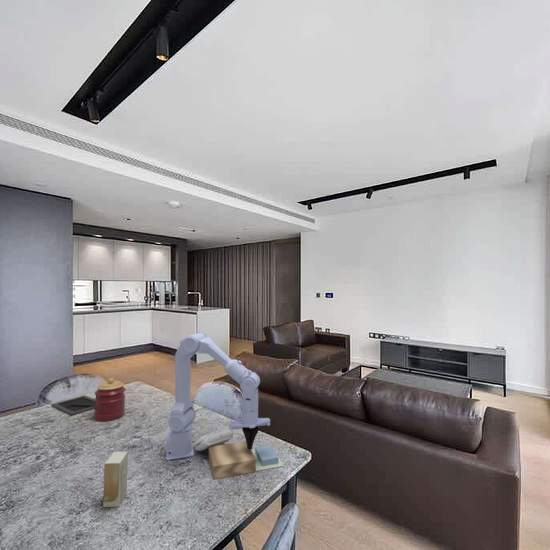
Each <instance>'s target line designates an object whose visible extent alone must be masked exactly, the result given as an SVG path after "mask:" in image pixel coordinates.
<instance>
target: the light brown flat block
mask: <svg viewBox="0 0 550 550" xmlns="http://www.w3.org/2000/svg"><path fill="white" fill-rule="evenodd" d="M251 450H252V449H248V448H247V443H246V440H245V441H239V442H231V443H230V442H229V443H223V444H221V445H217V446H210V447H209V449H208V461H209V465H210V466H209V467H210V470H211V476H212V478H213V480H218V479H223V478H227V477H234V476H238V475H244V474H250V473H255V472H257V471H256V459H255V457H254V455H253V453H252V451H251Z"/></svg>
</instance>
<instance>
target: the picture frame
mask: <svg viewBox="0 0 550 550" xmlns="http://www.w3.org/2000/svg"><path fill="white" fill-rule="evenodd" d="M94 400H95V398H93V397H91V396H87V395H81V396H77V397H73V398H70V399H66V400H63V401H62V400H61V401H58V402H55V403H51V404H50V407H51V408H54V409H56V410H58V411H60V412H62V413H64V414H67V415H68V416H69V417H73V416H76V415H80V414H83V413H86V412H89V411H92V410H94V409H95V401H94Z"/></svg>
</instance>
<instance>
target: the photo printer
mask: <svg viewBox="0 0 550 550" xmlns="http://www.w3.org/2000/svg"><path fill="white" fill-rule="evenodd" d="M233 431H234V430H232V431H230V430H229V427H226V428H222V429H220V430H216V431H213V432H210V433H207V434H204V435H203V436H201V437H199V438H198V439H197V440H196V441H195V443H194V446H195V450H196V451H198V452H203V451H206V450H209V447H210V446H217V445H224V444H227V442H229V441H230V440H232V439H233V437H234V432H233Z"/></svg>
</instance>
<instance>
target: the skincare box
mask: <svg viewBox="0 0 550 550" xmlns="http://www.w3.org/2000/svg"><path fill="white" fill-rule="evenodd" d="M128 458H129V451H113V452H112V453H111V454H110V456H109V457H107V459H106V461H105V462H104V467H103V468H104V469H103V473H104V474H103V501H102V502H103V503H102V505H103V506H102V507H103V508H119V507H120V505H121V503H122V502H123V500H124V498H125V497H126V496H127V495H126V494H127V493H128V467H129V465H128V464H129V462H128V461H129V459H128Z"/></svg>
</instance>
